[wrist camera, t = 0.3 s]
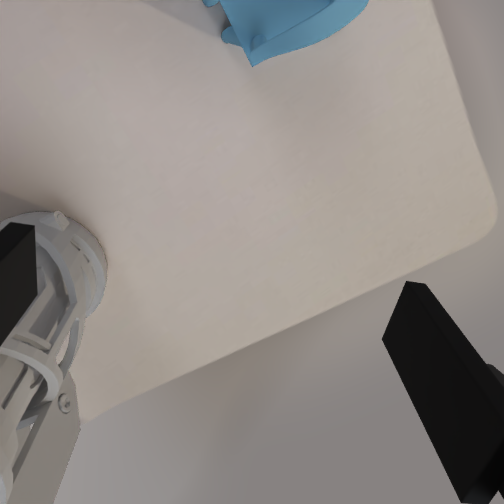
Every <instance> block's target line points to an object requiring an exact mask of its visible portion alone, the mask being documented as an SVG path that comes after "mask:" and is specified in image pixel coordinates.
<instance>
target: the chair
mask: <svg viewBox="0 0 504 504" xmlns="http://www.w3.org/2000/svg"><path fill="white" fill-rule="evenodd" d="M202 1H203V3H204V5H205V6H207V7H211V6H213V5H215V4H217V3H218V2H219V1H220V3H221V5H222V7H223V9H224V11H225V13H226V15H227V17H228V19H229V21H230V23H231V25H232V26H229V27H228V28H226V29H225V30H224V31H223V32H222V35H221V38H222V40H223V42H225V43H231V44H234V45H237V46H240V47H242V48H243V50H244V52H245V54H246V56H247V58H248V60H249V62H250V64H251V66H252V67H253V66H255V65H257V64H258V63H260V62H262V61H264V60H266V59H268V58H271V57H274V56H277V55H280V54H284V53H287V52H291V51H294V50H297V49H301V48H304V47H307V46H309V45H312V44H315V43H317V42H319V41H321V40H323V39H325V38H327V37H329V36H331V35H332V34H334V33H335V32H337V31H339V30H340V29H341V28H343V27H344V26H346V25H347V24H348V23H350V22H351V21H352V20H353V19H354V18H356V17H357V16H358V15H359V14H360V13H361V12H362V11H363V10H364V8H365V7H366V5H367V3H368V1H369V0H202Z"/></svg>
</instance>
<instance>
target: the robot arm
mask: <svg viewBox="0 0 504 504" xmlns="http://www.w3.org/2000/svg"><path fill="white" fill-rule="evenodd" d="M37 295H38V289H37V265H36V241H35V225H29V224H22V223H16V222H10V223H8V224H7V225H6V226H5V227H4V228H3V229H2V230H1V231H0V347H1V345H2V344H3V342H4V341H5V340H6V338H7V337H8V335H9V334H10V333H11V331H12V330H13V328H14V327H15V326H16V324H17V323H18V321H19V320H20V319H21V317H22V316H23V314H24V313H25V312H26V310H27V309H28V307H29V306H30V305H31V303H32V302H33V300H34V299H35V298H36V296H37ZM382 341H383V343H384V345H385V347H386V349H387V351H388V353H389V355H390V357H391V359H392V361H393V363H394V365H395V368H396V370H397V371H398V374H399V376H400V378H401V380H402V382H403V384H404V386H405V388H406V390H407V392H408V394H409V396H410V399H411V401H412V403H413V405H414V407H415V409H416V411H417V413H418V415H419V417H420V419H421V421H422V423H423V425H424V427H425V429H426V432H427V434H428V435H429V438H430V440H431V442H432V444H433V446H434V448H435V450H436V452H437V454H438V456H439V458H440V460H441V463H442V464H443V466H444V469H445V471H446V473H447V475H448V477H449V479H450V481H451V483H452V485H453V487H454V489H455V491H456V493H457V496H458V498H459V500H460V502H461V503H468V504H489V503H490V501H491V500H492V498H493V497H494V496H495V494H496V493H497V491H498V490H499V492H500V493H501V495H502V497H503V499H504V374H502V373H501V372H500V371H499V370H498V369H496V368H495V367H494V366H493V365H490V364H486V363H485V362H484V361H483V359H482V358H481V357H480V355H479V354H478V353H477V352H476V350H475V349H474V347H473V346H472V345H471V343H470V342H469V341H468V340H467V338H466V337H465V335H463V333H462V331H461V330H460V329H459V327H458V326H457V325H456V324H455V322H454V321H453V320H452V318H451V317H450V316H449V314H448V313H447V312H446V310H445V309H444V308H443V307H442V305H441V304H440V302H439V301H438V300H437V298H436V297H435V296H434V294H433V293H432V292H431V291H430V289H429V288H428V287H427V285H426V284H423V283H417V282H409V281H406V283H405V285H404V287H403V290H402V292H401V295H400V297H399V299H398V302H397V304H396V306H395V309H394V311H393V314H392V316H391V318H390V321H389V323H388V325H387V328H386V330H385V333H384V335H383V337H382Z"/></svg>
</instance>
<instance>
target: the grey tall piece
mask: <svg viewBox="0 0 504 504" xmlns="http://www.w3.org/2000/svg"><path fill="white" fill-rule="evenodd" d="M10 222H16V223H22V224H29V225H35V241H36V265H37V289H38V295H37V296H36V298H35V299H34V300H33V302H32V303H31V305H30V306H29V307H28V309H27V310H26V312H25V313H24V314H23V316H22V317H21V319H20V320H19V321H18V323H17V324H16V326H15V327H14V328H13V330H12V331H11V333H10V334H9V335H8V337H7V338H6V340H5V341H4V342H3V344H2V345H1V347H0V504H53V503H54V500H55V497H56V495H57V492H58V489H59V487H60V484H61V481H62V478H63V476H64V473H65V470H66V468H67V465H68V462H69V460H70V457H71V454H72V451H73V449H74V446H75V443H76V441H77V438H78V435H79V432H80V421H79V412H78V404H77V396H76V387H75V383H74V381H73V379H72V377H71V374H70V372H69V368H70V366H71V364H72V362H73V360H74V358H75V355H76V353H77V351H78V348H79V346H80V343H81V339H82V335H83V331H84V327H85V318H87V317H88V316H89V315H90V314H92V313H93V312H94V311H95V309H96V308H97V307H98V305H99V304H100V302H101V300H102V297H103V295H104V291H105V287H106V282H107V263H106V259H105V255H104V252H103V249H102V248H101V246H100V244H99V243H98V241H97V239H96V238H95V237H94V236H93V235H92V234H91V233H90V232H89V231H88V230H87V229H86V228H85V227H83V226H82V225H81V224H79V223H77V222H76V221H74V220H72V219H70V218H68V217H65V216H64V214H63V213H62V212H60V211H58V210H57V211H55V212H53V213H51V212H30V213H24V214H20V215H17V216H14V217H11V218H8V219H6V220H4V221H2V222H1V223H0V231H1V230H2V229H3V228H4V227H5V226H6V225H7V224H8V223H10ZM70 329H71V330H70ZM69 331H70V337H69V344H68V348H67V351H66V353H65V356H64V358H63V360H62V362H61V363H60V364H59V365H58V364H57V362H56V356H57V354H58V352H59V350H60V348H61V346H62V344H63V342H64V341H65V339H66V337H67V335H68V333H69ZM33 423H34V425H33V427H32V429H31V431H30V425H31V424H33Z"/></svg>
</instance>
